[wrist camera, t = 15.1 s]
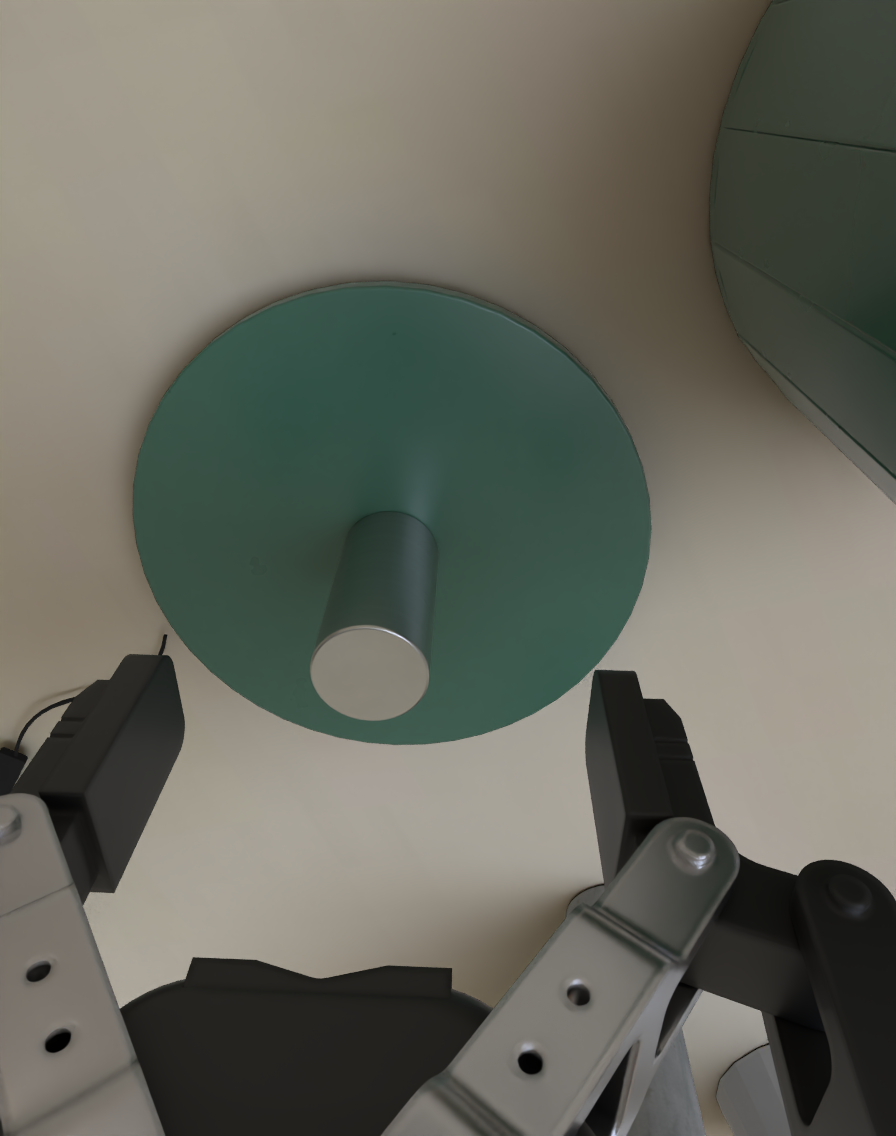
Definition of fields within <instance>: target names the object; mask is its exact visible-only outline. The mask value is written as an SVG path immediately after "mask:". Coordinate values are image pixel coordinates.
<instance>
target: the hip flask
mask: <svg viewBox="0 0 896 1136" xmlns="http://www.w3.org/2000/svg"><path fill="white" fill-rule="evenodd" d="M604 891H605V885H603V886H597V887H594V888H591V889H588V890H586V891H584V892H582V893H581V894H579V895H578V896H576V897H575V898H574V899H573V900H572V901H571V903H570V904H569V906H568V908H567V912H566V917H567V916H568V915H569V914H570V913H571V911H572V910H573V909H574V908H575V907H576V906H578V905H579V904H581V903H586V904H588V905H589V906H592V905H593V904H594V903H595V902H596V901H597V900H598V899H599V897H600V896H601V895H602V894H603V892H604ZM626 1136H706V1134H705V1129H704V1125H703V1120H702V1116H701V1112H700V1107H699V1103H698V1098H697V1094H696V1089H695V1085H694V1080H693V1076H692V1071H691V1067H690V1063H689V1058H688V1054H687V1049H686V1045H685V1040H684V1036H683V1031H682V1028H681V1029H680V1031H679V1033H678V1034H677V1036H676V1038H675V1040H674V1041H673V1043H672V1045H671V1047H670V1048H669V1050H668V1052H667V1053H666V1055H665V1057H664V1059H663V1060H662V1062H661V1064H660V1066H659V1067H658V1069H657V1071H656V1073H655V1075H654V1077H653V1079H652V1081H651V1083H650V1085H649V1087H648V1090H647V1092H646V1095H645V1097H644V1100H643V1102H642V1104H641V1107H640V1109H639V1111H638V1113H637V1115H636V1117H635V1119H634V1121H633V1123H632V1125H631V1127H630V1129H629V1131H628V1133H627V1135H626Z"/></svg>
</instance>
